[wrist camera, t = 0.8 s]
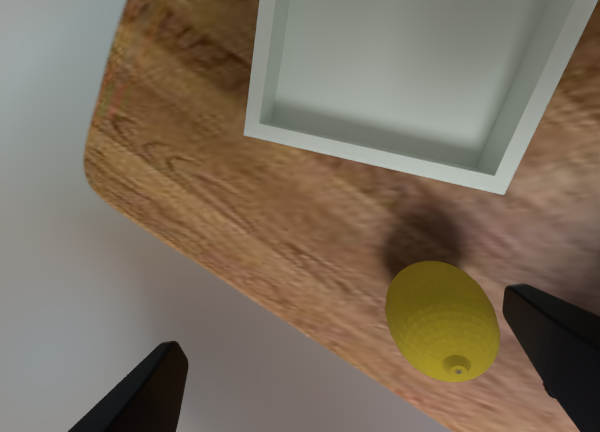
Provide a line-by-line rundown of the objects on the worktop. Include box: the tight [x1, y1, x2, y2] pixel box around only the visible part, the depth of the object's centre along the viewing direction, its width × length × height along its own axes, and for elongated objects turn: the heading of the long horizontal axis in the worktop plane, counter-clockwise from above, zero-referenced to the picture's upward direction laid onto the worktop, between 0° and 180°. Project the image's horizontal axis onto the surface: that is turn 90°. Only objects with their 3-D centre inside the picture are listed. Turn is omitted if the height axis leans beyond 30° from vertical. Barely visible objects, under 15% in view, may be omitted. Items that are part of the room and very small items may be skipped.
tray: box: [244, 0, 598, 195], centre depth 14 cm, size 14×14×3 cm
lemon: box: [385, 261, 500, 382], centre depth 16 cm, size 6×6×8 cm
